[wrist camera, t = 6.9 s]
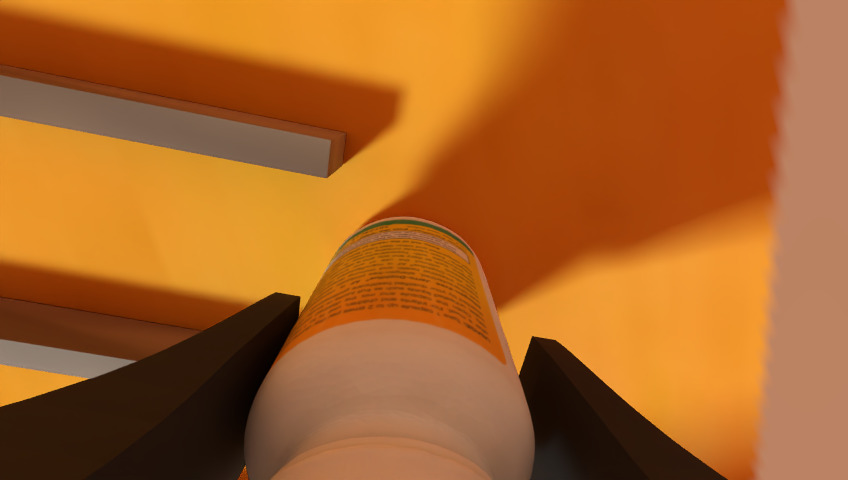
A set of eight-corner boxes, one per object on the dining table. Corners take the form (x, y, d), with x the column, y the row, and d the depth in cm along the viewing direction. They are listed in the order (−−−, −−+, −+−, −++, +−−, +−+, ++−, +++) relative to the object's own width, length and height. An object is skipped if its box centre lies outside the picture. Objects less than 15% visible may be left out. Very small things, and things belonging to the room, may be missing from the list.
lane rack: (300, 515, 18) (284, 565, 16) (-148, 450, 17) (-221, 496, 15) (346, 132, 12) (331, 140, 10) (-336, -3, 11) (-494, -23, 9)
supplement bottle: (507, 315, 14) (655, 709, 5) (375, 371, 15) (305, 792, 6) (442, 182, 12) (492, 421, 3) (297, 253, 13) (33, 595, 4)
